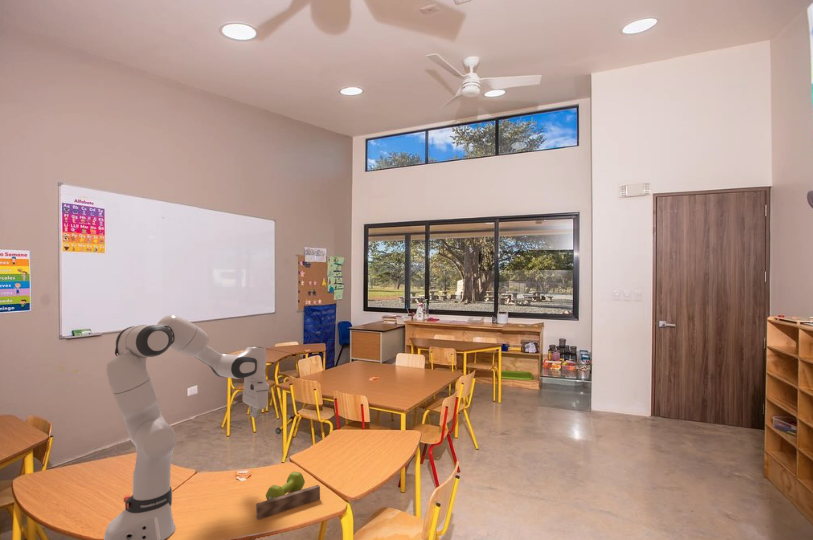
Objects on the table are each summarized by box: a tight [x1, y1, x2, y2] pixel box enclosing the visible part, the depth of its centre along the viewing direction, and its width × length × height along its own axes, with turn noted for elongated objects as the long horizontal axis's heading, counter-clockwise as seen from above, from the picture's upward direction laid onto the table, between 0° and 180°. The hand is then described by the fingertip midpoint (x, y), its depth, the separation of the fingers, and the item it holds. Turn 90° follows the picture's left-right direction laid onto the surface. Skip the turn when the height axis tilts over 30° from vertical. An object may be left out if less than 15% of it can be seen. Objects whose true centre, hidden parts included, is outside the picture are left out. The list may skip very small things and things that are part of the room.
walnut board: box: [255, 484, 321, 521], centre depth 157 cm, size 24×2×5 cm, turn 125°
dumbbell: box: [265, 471, 306, 501], centre depth 165 cm, size 16×8×7 cm, turn 157°
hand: (253, 416), depth 178 cm, fingers closed
